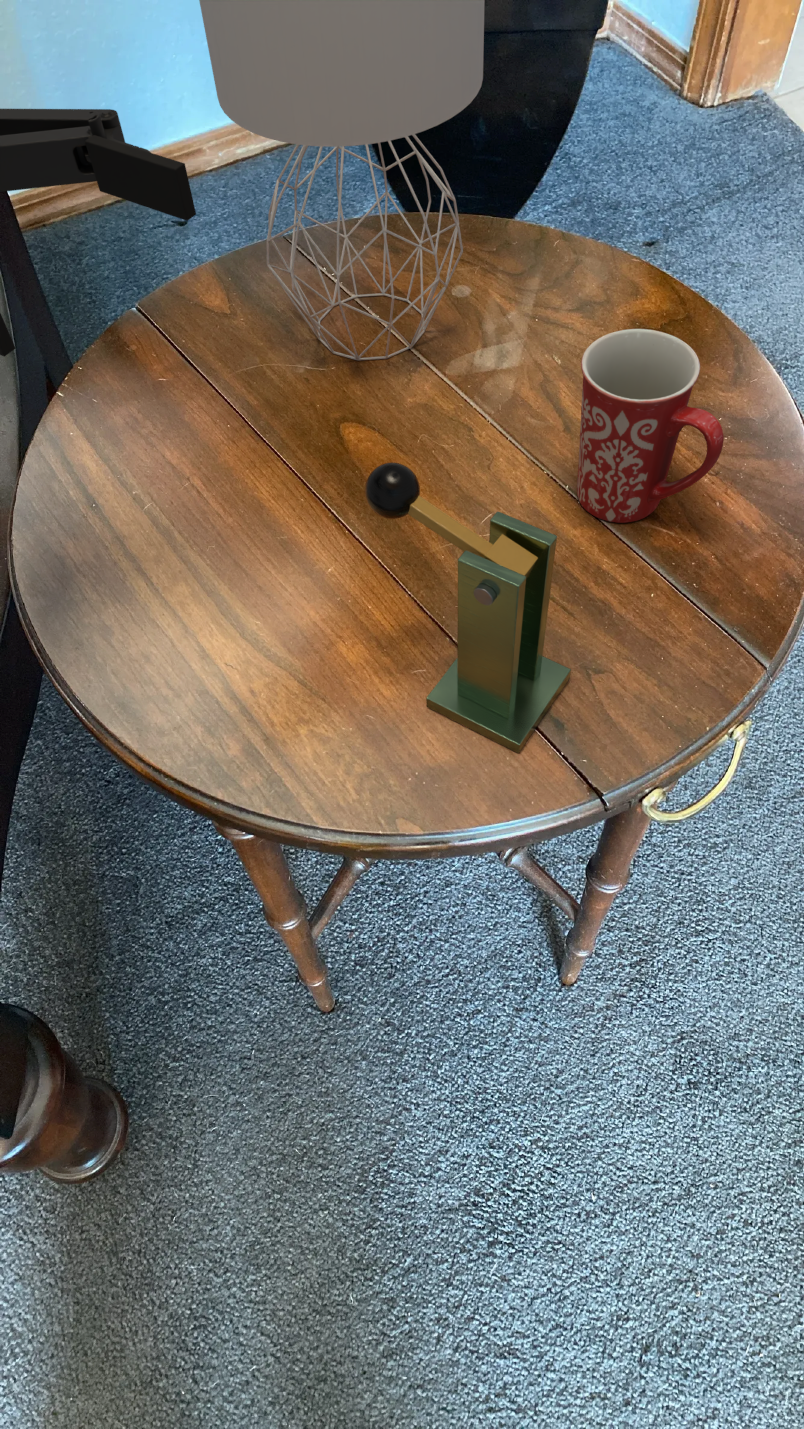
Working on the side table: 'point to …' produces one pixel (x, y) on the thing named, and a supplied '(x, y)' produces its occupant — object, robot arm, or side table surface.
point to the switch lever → (437, 517)
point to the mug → (637, 422)
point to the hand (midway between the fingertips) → (99, 256)
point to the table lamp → (348, 103)
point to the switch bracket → (502, 642)
